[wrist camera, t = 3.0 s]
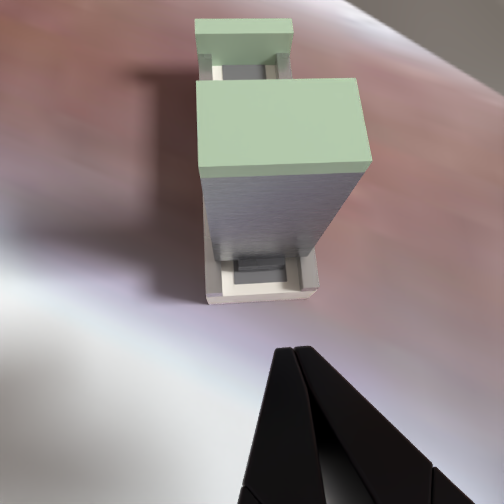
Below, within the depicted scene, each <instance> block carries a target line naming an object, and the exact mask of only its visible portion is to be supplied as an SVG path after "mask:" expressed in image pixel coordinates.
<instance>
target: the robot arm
mask: <svg viewBox="0 0 504 504" xmlns="http://www.w3.org/2000/svg"><path fill="white" fill-rule="evenodd" d="M242 485H243V487H242V488H241V490H240V494H239V499H238V503H237V504H475V503H474V502H473V501H472V500H471V499H470V498H468V497H467V496H466V495H465V494H464V493H463V492H462V491H461V490H460V489H459V488H458V487H457V486H456V485H454V484H453V483H452V482H451V481H450V480H449V479H448V478H447V477H446V476H445V475H444V474H443V473H442V472H441V471H440V470H439V469H438V468H437V467H433V464H432V462H431V461H429V460H428V459H427V458H426V457H425V456H424V455H423V454H422V453H421V452H420V451H419V450H418V449H417V448H416V447H415V446H414V445H413V444H412V443H411V442H410V441H409V440H408V439H407V438H406V437H405V436H404V435H403V434H402V433H401V432H400V431H399V430H397V429H396V428H395V427H394V426H393V425H392V424H391V423H390V422H389V421H388V420H387V419H386V418H385V417H384V416H383V415H382V414H381V413H380V412H379V411H378V410H377V409H376V408H375V407H374V406H373V405H372V404H371V403H370V402H369V401H368V400H367V399H366V398H364V397H363V396H362V395H361V394H360V393H359V392H358V391H357V390H356V389H355V388H354V387H353V386H352V385H351V384H350V383H349V382H348V381H347V380H346V379H345V378H344V377H343V376H342V375H341V374H340V373H339V372H338V371H337V370H336V369H335V368H334V367H332V366H331V365H330V364H329V363H328V362H327V361H326V360H325V359H324V358H323V357H322V356H321V355H320V354H319V353H318V352H317V351H316V350H315V349H314V348H313V347H311V346H299V347H295V348H294V349H293V348H291V347H285V348H276V349H275V351H274V355H273V359H272V363H271V368H270V372H269V376H268V380H267V384H266V388H265V392H264V396H263V401H262V405H261V409H260V413H259V417H258V421H257V425H256V429H255V434H254V438H253V442H252V446H251V450H250V454H249V458H248V462H247V467H246V471H245V475H244V479H243V483H242Z"/></svg>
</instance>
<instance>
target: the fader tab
mask: <svg viewBox="0 0 504 504" xmlns="http://www.w3.org/2000/svg"><path fill="white" fill-rule="evenodd" d="M196 99H197V136H198V168H199V174H200V179H201V185H202V191H203V196H204V202H205V208H206V214H207V219H208V225H209V231H210V237H211V242H212V248H213V254H214V260H215V261H232V260H238V272H242V271H260V270H278V269H283V268H284V266H285V258H289V257H307V256H308V255H309V253H310V252H311V251H312V249H313V248H314V246H315V245H316V243H317V242H318V240H319V239H320V237H321V236H322V234H323V233H324V231H325V230H326V228H327V227H328V226H329V224H330V223H331V221H332V220H333V218H334V217H335V215H336V214H337V212H338V211H339V209H340V208H341V206H342V205H343V203H344V202H345V201H346V199H347V198H348V196H349V195H350V193H351V192H352V190H353V189H354V187H355V186H356V184H357V183H358V181H359V180H360V178H361V177H362V175H363V174H364V173H365V171H366V170H367V168H368V167H369V165H370V164H371V162H372V157H371V152H370V147H369V142H368V137H367V132H366V127H365V122H364V117H363V112H362V107H361V101H360V96H359V91H358V86H357V81H356V78H326V79H266V80H206V81H196Z"/></svg>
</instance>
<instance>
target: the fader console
mask: <svg viewBox="0 0 504 504" xmlns="http://www.w3.org/2000/svg"><path fill="white" fill-rule="evenodd" d="M195 37H196V45H197V54H198V63H199V81H206V80H266V79H292V72H291V64H290V56H289V55H290V50H291V44H292V39H293V25H292V18H288V19H195ZM203 221H204V254H205V287H206V299H207V301H208V304H209V305H213V304H229V303H245V302H262V301H278V300H295V299H308V298H309V297H310V296H311V295H312V294H313V293H315V292H316V291H317V289H318V288H319V287H320V286H319V279H318V271H317V263H316V256H315V248H313V249H312V251H311V252H310V253H309V255H308V256H307V257H289V258H285V266H284V268H283V269H278V270H260V271H242V272H238V260H232V261H215V260H214V254H213V248H212V242H211V237H210V231H209V225H208V219H207V214H206V208H205V202H204V196H203Z"/></svg>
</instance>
